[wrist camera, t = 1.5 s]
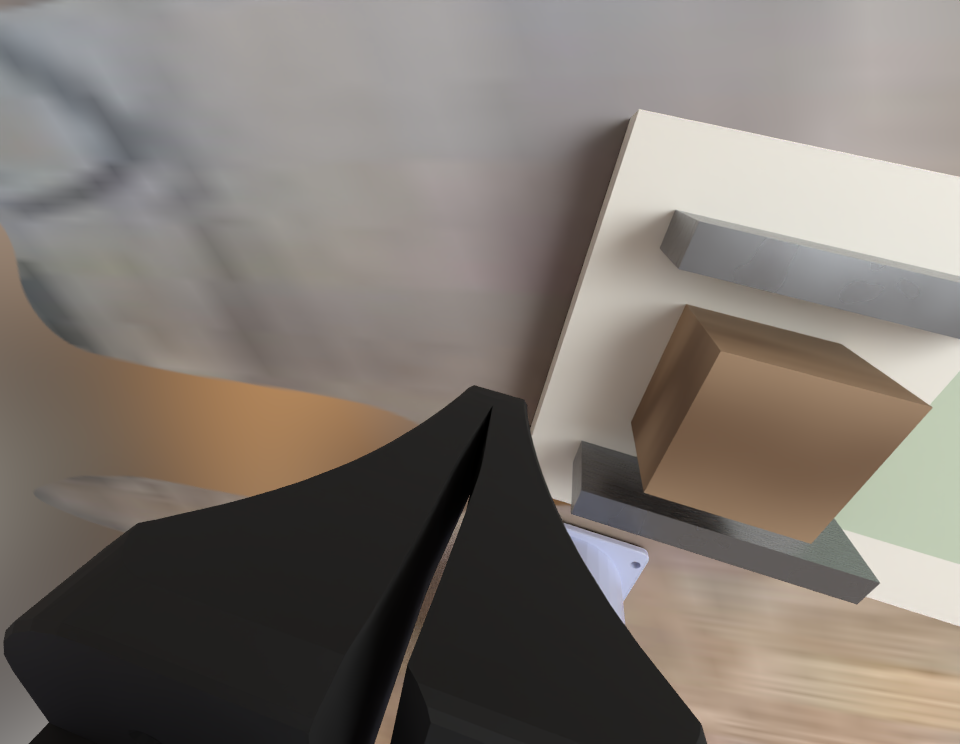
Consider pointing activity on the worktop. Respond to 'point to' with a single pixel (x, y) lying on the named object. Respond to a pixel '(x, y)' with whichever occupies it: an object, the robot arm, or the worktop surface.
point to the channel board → (770, 320)
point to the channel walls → (798, 274)
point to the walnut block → (766, 423)
